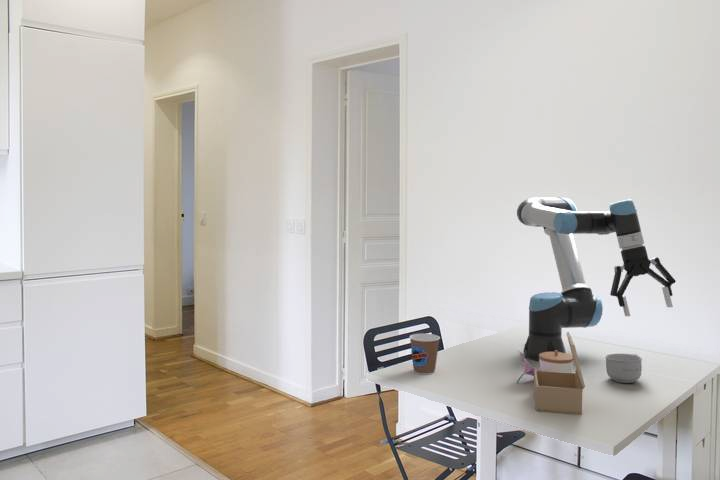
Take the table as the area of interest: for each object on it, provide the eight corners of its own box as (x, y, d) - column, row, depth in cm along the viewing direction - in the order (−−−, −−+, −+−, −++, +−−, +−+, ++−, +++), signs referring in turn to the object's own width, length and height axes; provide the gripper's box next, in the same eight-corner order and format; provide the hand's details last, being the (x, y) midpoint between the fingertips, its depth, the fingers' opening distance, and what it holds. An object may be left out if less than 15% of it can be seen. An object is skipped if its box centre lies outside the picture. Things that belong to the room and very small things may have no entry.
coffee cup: (402, 371, 208) (403, 336, 207) (421, 365, 215) (421, 332, 215) (427, 378, 201) (427, 341, 200) (445, 371, 208) (446, 336, 208)
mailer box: (536, 410, 170) (536, 386, 170) (533, 393, 186) (534, 370, 185) (581, 414, 168) (582, 389, 167) (575, 396, 183) (576, 373, 183)
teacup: (625, 387, 191) (626, 362, 191) (597, 378, 201) (598, 354, 200) (655, 381, 198) (656, 357, 197) (626, 372, 207) (627, 349, 207)
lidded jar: (572, 376, 203) (573, 348, 203) (572, 385, 193) (573, 356, 193) (539, 373, 207) (539, 345, 206) (537, 382, 197) (538, 353, 196)
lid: (570, 345, 167) (574, 344, 167) (565, 332, 182) (569, 331, 182) (581, 389, 167) (585, 388, 167) (575, 372, 183) (579, 372, 182)
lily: (537, 395, 187) (552, 367, 188) (502, 375, 192) (516, 348, 193) (538, 395, 199) (551, 368, 199) (505, 377, 203) (518, 351, 204)
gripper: (598, 255, 196) (614, 320, 195) (675, 238, 195) (693, 303, 193) (590, 256, 204) (606, 319, 202) (665, 239, 202) (682, 302, 201)
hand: (648, 311), depth 198 cm, fingers open, 13 cm apart
